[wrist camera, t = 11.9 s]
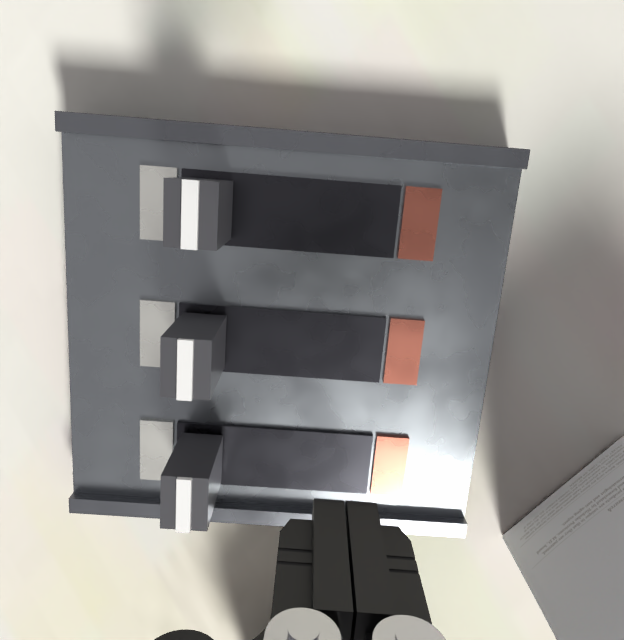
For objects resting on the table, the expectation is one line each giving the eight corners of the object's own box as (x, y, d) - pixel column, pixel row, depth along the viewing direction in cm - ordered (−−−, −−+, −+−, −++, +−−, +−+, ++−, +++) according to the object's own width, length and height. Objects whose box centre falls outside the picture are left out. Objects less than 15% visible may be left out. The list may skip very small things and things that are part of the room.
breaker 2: (226, 315, 26) (211, 342, 22) (224, 366, 26) (209, 402, 22) (182, 312, 26) (159, 338, 22) (181, 364, 26) (158, 398, 22)
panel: (509, 151, 26) (530, 149, 24) (452, 508, 31) (465, 537, 29) (79, 117, 26) (54, 111, 23) (88, 484, 31) (69, 512, 28)
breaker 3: (223, 435, 27) (208, 481, 23) (221, 481, 28) (206, 534, 24) (181, 432, 27) (159, 478, 23) (180, 478, 28) (158, 531, 24)
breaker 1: (233, 180, 24) (218, 181, 20) (231, 238, 25) (215, 251, 21) (186, 177, 24) (162, 178, 20) (185, 235, 25) (161, 247, 21)
